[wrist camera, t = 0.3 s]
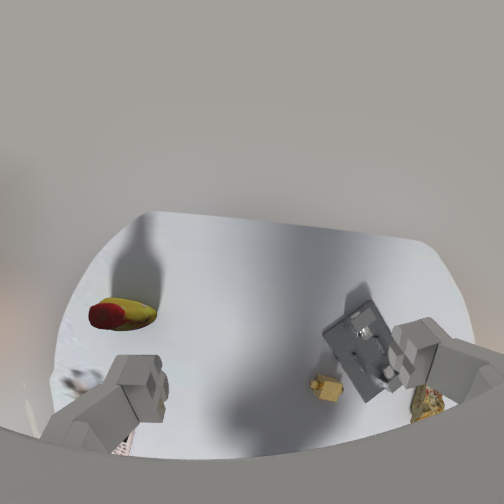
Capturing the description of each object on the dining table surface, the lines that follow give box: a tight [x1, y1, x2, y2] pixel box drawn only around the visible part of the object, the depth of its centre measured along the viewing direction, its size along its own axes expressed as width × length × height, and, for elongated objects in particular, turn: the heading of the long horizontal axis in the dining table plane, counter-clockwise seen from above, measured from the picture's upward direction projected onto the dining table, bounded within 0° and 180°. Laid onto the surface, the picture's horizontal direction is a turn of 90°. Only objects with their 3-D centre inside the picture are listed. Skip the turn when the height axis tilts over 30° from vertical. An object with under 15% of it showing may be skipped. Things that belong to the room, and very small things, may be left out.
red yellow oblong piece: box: [88, 298, 157, 331], centre depth 51 cm, size 12×6×20 cm, turn 84°
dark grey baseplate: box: [322, 300, 403, 403], centre depth 59 cm, size 21×13×5 cm, turn 32°
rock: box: [410, 384, 445, 423], centre depth 57 cm, size 12×9×10 cm
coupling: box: [310, 375, 344, 402], centre depth 57 cm, size 7×4×6 cm, turn 72°
